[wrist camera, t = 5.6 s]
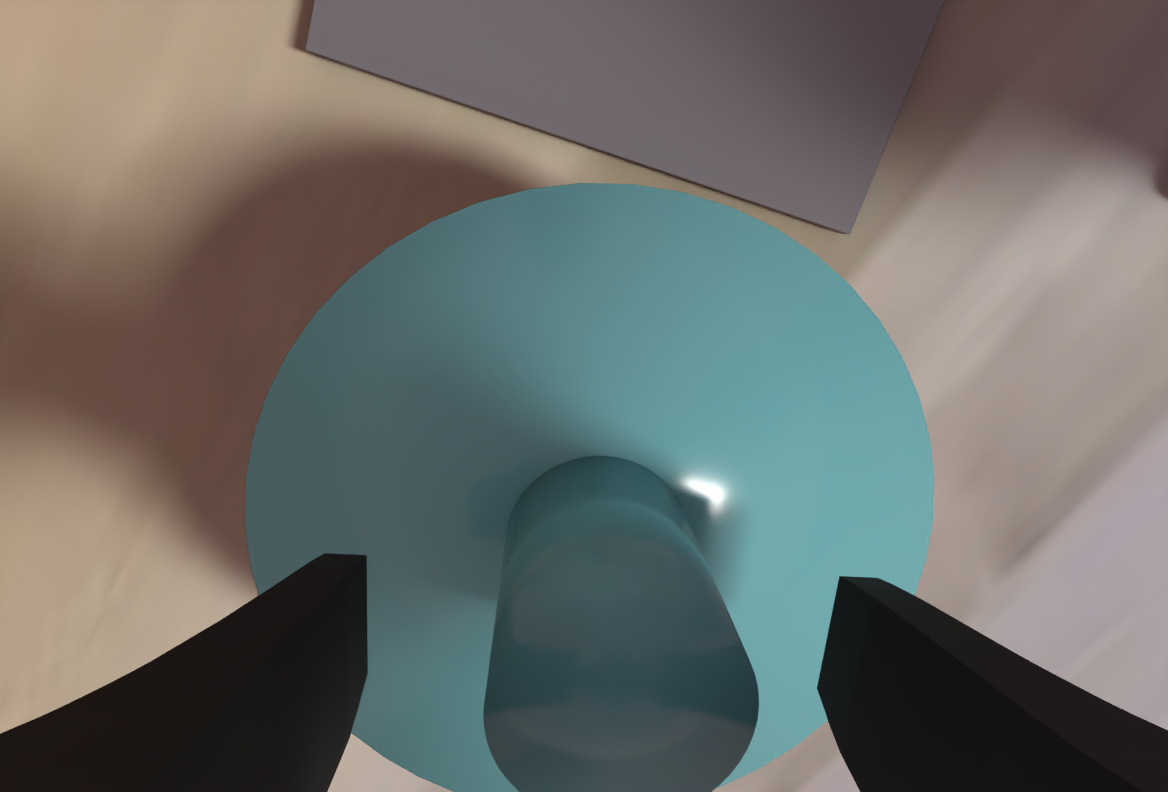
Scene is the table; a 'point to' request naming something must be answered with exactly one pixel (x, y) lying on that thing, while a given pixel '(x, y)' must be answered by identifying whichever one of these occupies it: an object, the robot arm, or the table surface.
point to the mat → (667, 81)
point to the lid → (593, 486)
